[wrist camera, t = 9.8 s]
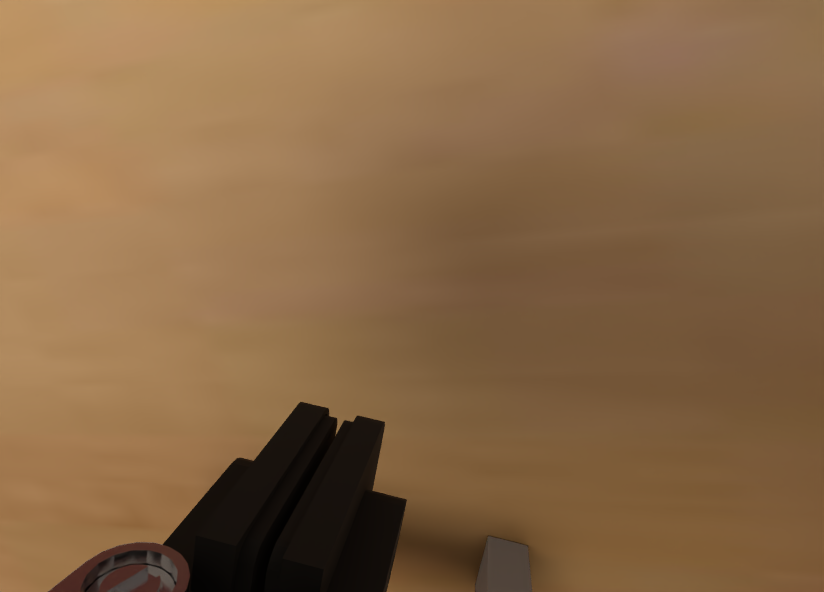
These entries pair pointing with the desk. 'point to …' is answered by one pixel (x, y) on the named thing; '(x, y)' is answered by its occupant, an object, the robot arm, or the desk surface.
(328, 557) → the robot arm
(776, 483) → the desk surface
